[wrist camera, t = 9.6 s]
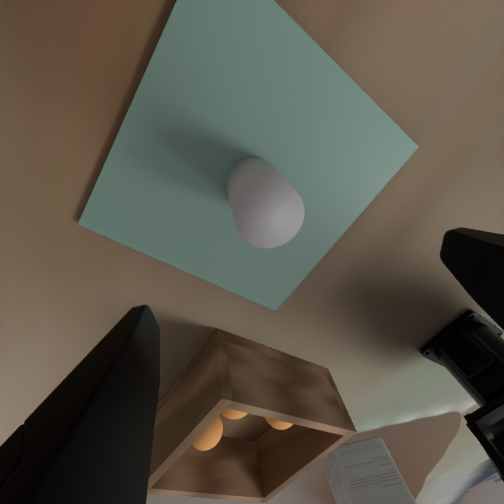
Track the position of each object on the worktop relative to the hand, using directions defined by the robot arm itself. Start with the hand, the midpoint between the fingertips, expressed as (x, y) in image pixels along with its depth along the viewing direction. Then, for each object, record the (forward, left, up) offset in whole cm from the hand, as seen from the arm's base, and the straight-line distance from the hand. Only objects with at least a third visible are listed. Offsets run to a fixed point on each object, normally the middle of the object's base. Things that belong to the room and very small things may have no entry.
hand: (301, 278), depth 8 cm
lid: (0, 0, -11) cm, 11 cm away
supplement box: (-34, +24, -11) cm, 43 cm away
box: (-11, +18, -10) cm, 23 cm away
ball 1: (-9, +21, -8) cm, 23 cm away
